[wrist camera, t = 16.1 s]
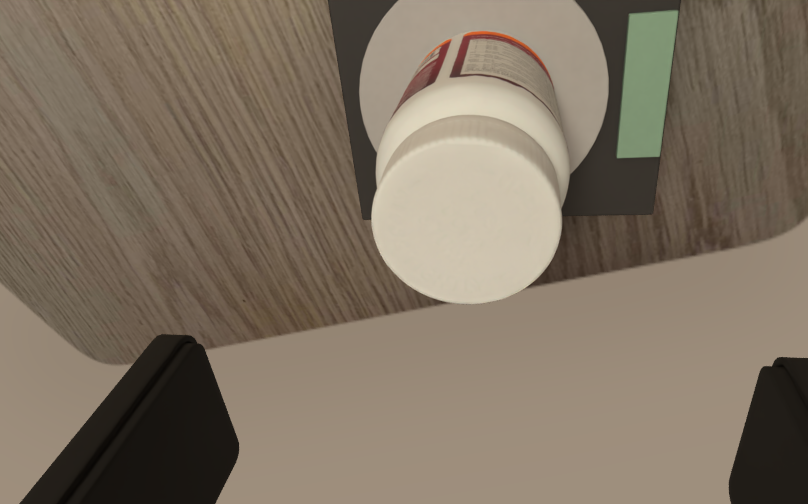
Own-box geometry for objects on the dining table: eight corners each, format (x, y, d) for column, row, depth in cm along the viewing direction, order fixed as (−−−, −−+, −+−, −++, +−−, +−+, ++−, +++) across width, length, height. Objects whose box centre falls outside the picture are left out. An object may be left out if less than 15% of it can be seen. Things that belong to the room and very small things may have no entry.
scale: (675, -82, 23) (696, -79, 21) (643, 191, 29) (655, 221, 27) (336, -46, 26) (316, -39, 23) (371, 198, 32) (359, 225, 29)
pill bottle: (430, 179, 27) (387, 334, 18) (392, 48, 24) (317, 149, 15) (565, 152, 26) (596, 307, 16) (541, 7, 23) (563, 92, 13)
